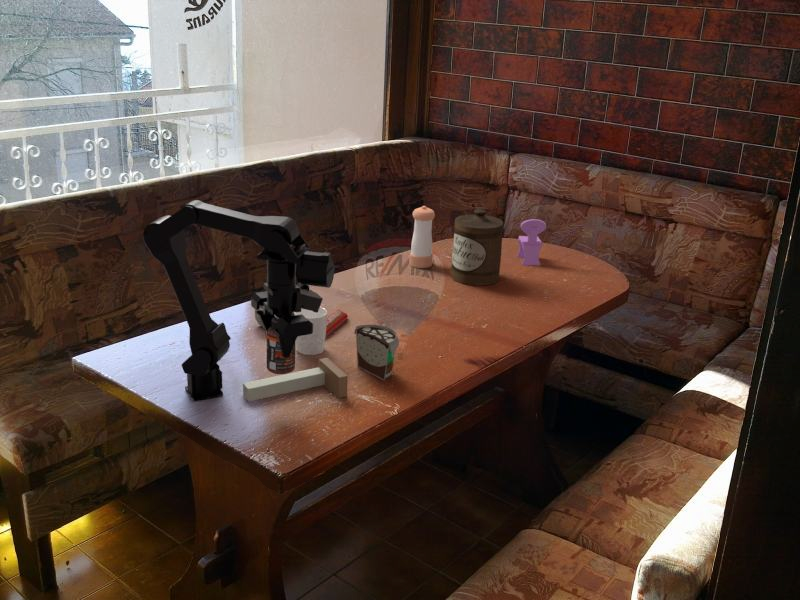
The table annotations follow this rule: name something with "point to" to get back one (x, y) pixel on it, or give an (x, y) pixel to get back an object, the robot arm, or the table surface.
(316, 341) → the white cup
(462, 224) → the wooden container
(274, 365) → the supplement bottle
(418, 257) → the pepper shaker
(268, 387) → the wall board
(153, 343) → the table surface
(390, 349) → the food container
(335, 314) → the candy bar
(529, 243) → the toy chair
